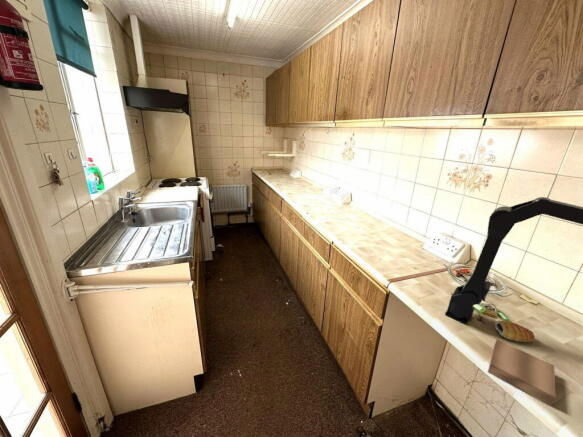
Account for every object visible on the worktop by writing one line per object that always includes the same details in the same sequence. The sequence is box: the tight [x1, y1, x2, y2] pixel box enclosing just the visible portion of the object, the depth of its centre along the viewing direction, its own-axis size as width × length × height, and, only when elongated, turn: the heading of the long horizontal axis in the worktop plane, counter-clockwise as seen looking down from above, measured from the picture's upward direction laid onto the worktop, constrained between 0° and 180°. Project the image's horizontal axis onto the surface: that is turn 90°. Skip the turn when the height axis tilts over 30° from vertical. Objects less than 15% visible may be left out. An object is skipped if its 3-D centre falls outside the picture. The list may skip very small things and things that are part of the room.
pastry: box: [494, 319, 536, 343], centre depth 77 cm, size 9×7×4 cm
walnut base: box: [487, 338, 557, 407], centre depth 65 cm, size 12×12×3 cm
